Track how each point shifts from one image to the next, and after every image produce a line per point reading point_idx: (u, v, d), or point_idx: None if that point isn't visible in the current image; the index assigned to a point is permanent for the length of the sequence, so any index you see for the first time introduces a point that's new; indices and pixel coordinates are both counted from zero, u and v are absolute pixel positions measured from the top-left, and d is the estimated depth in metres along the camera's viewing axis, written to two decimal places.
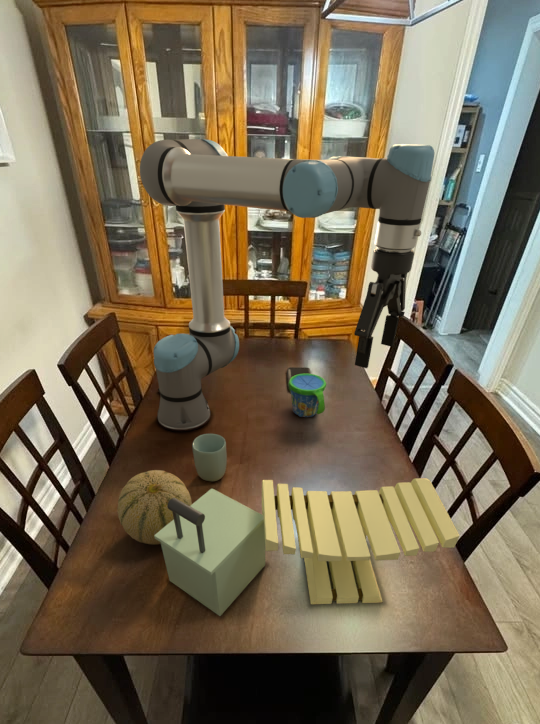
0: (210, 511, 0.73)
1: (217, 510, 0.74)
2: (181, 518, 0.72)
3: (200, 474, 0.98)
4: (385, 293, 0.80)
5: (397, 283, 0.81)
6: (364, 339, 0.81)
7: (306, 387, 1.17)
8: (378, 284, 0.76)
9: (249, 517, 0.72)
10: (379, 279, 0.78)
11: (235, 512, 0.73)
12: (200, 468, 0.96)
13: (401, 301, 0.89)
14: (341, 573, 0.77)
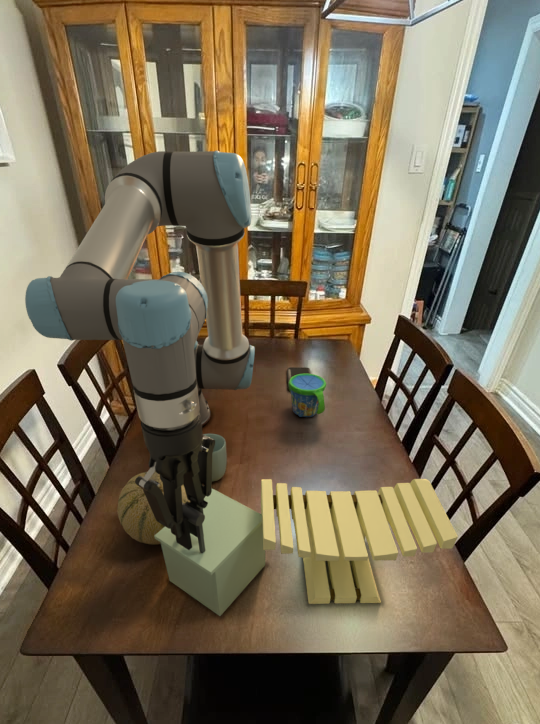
0: (210, 511, 0.73)
1: (217, 510, 0.74)
2: None
3: None
4: (171, 477, 0.55)
5: (190, 453, 0.56)
6: (173, 524, 0.61)
7: (306, 387, 1.17)
8: (144, 486, 0.52)
9: (249, 517, 0.72)
10: (152, 459, 0.53)
11: (235, 512, 0.73)
12: None
13: (204, 481, 0.63)
14: (339, 573, 0.77)
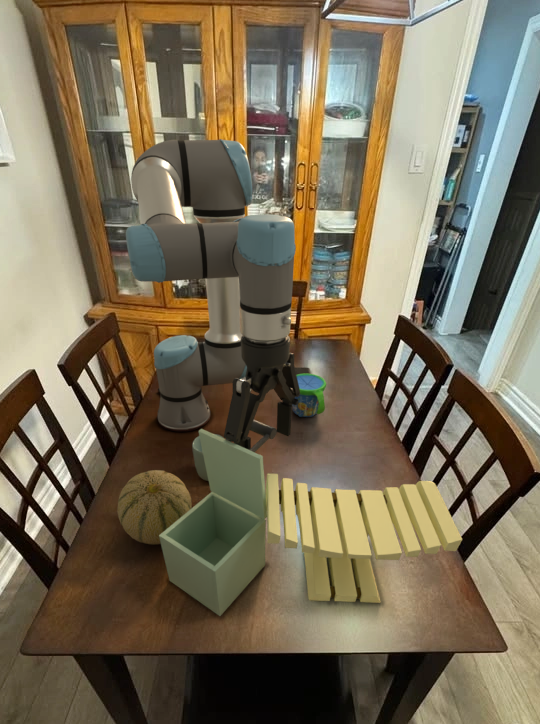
0: None
1: None
2: None
3: (200, 474, 0.98)
4: (259, 388, 0.65)
5: (276, 372, 0.66)
6: (238, 441, 0.67)
7: (306, 387, 1.17)
8: (242, 383, 0.61)
9: None
10: (249, 372, 0.63)
11: None
12: (200, 468, 0.96)
13: (293, 387, 0.74)
14: (340, 571, 0.77)
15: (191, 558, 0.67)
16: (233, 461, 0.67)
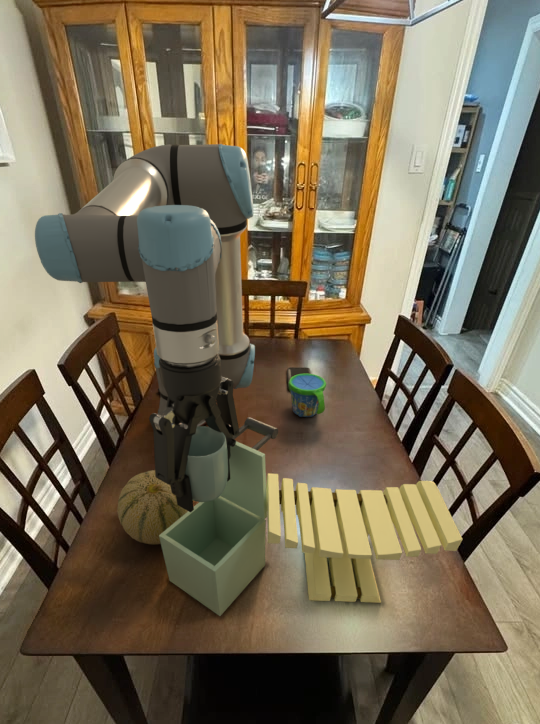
0: None
1: None
2: None
3: None
4: (186, 420, 0.53)
5: (207, 399, 0.54)
6: (174, 482, 0.57)
7: (306, 387, 1.17)
8: (159, 421, 0.50)
9: None
10: (170, 400, 0.52)
11: None
12: None
13: (230, 422, 0.62)
14: (340, 571, 0.77)
15: (191, 558, 0.67)
16: (235, 459, 0.68)
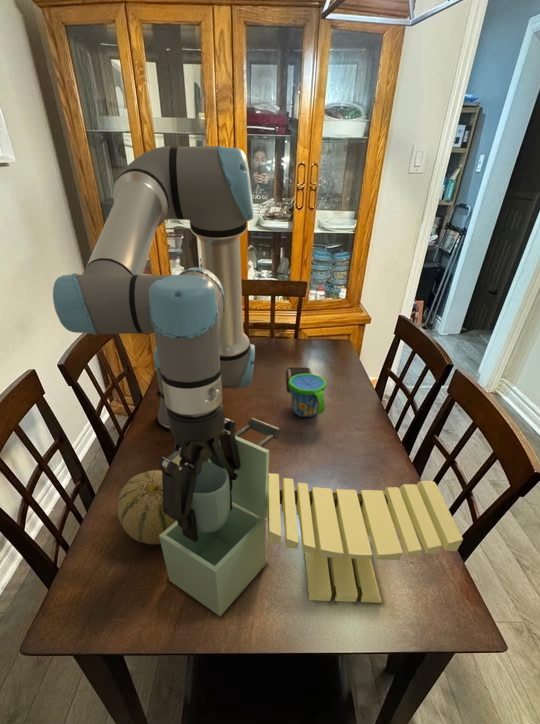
0: None
1: None
2: None
3: None
4: (192, 462, 0.58)
5: (211, 441, 0.59)
6: (180, 516, 0.62)
7: (306, 387, 1.17)
8: (168, 465, 0.54)
9: None
10: (177, 445, 0.56)
11: None
12: None
13: (232, 458, 0.67)
14: (341, 571, 0.77)
15: (191, 558, 0.67)
16: None
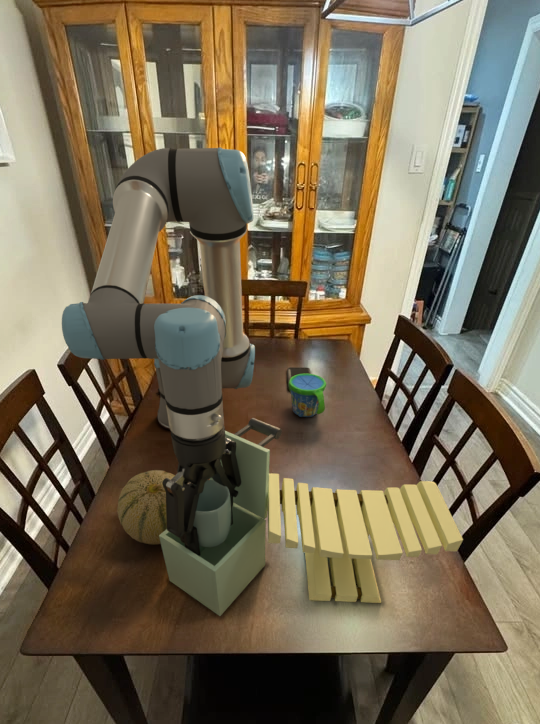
0: None
1: None
2: None
3: None
4: (194, 482, 0.60)
5: (213, 462, 0.61)
6: (183, 533, 0.64)
7: (306, 387, 1.17)
8: (171, 486, 0.57)
9: None
10: (180, 466, 0.58)
11: None
12: None
13: (233, 476, 0.69)
14: (341, 571, 0.77)
15: (191, 558, 0.67)
16: (239, 456, 0.68)
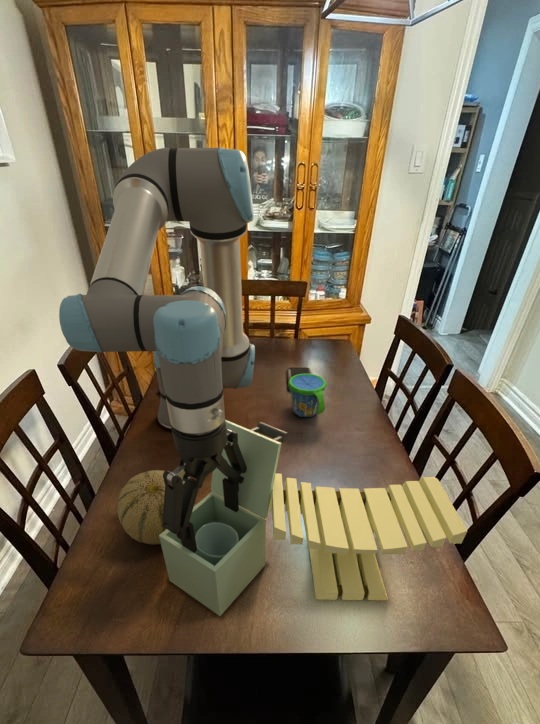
0: None
1: None
2: None
3: None
4: (195, 476, 0.60)
5: (214, 456, 0.61)
6: (179, 529, 0.63)
7: (306, 387, 1.17)
8: (172, 478, 0.56)
9: None
10: (182, 460, 0.58)
11: None
12: None
13: (238, 464, 0.69)
14: (346, 570, 0.77)
15: (191, 558, 0.67)
16: (248, 450, 0.70)
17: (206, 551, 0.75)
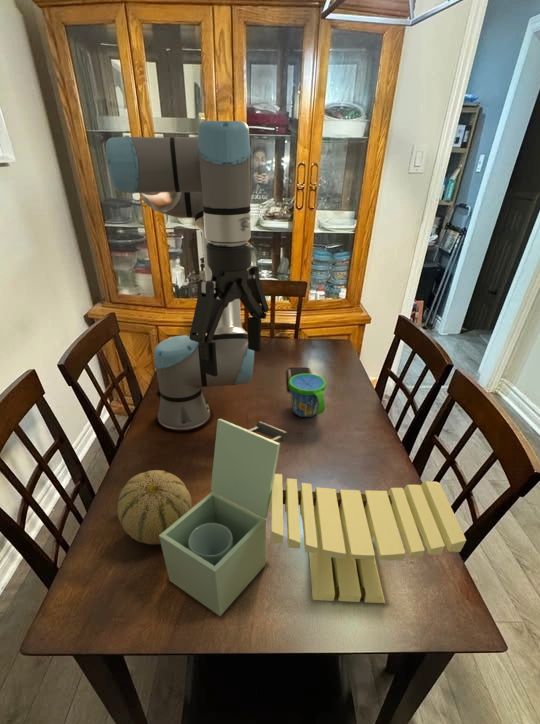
0: None
1: None
2: None
3: None
4: (223, 292, 0.71)
5: (240, 281, 0.72)
6: (203, 344, 0.72)
7: (306, 387, 1.17)
8: (207, 282, 0.67)
9: None
10: (214, 276, 0.69)
11: None
12: None
13: (261, 301, 0.80)
14: (344, 571, 0.77)
15: (191, 558, 0.67)
16: (247, 450, 0.70)
17: (203, 552, 0.75)
